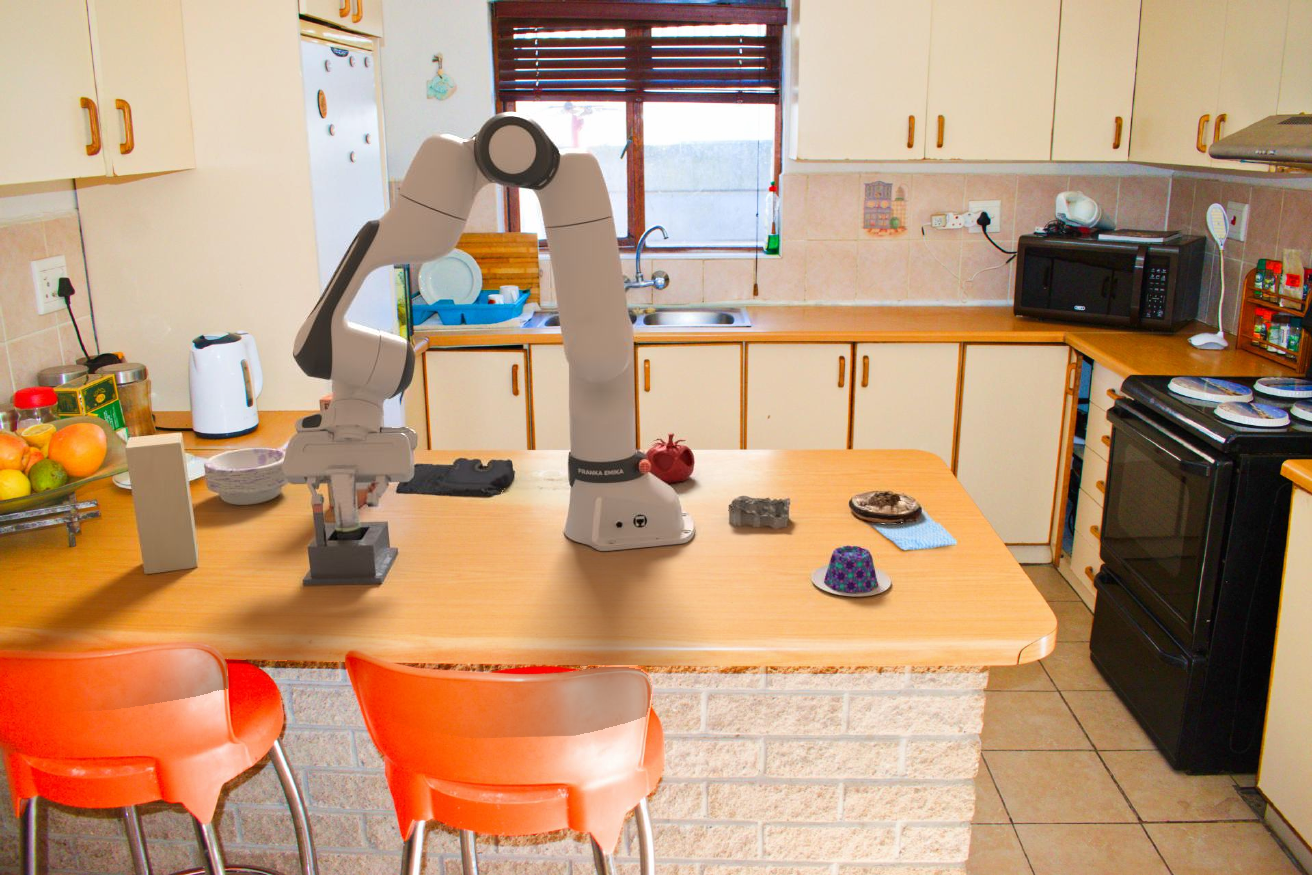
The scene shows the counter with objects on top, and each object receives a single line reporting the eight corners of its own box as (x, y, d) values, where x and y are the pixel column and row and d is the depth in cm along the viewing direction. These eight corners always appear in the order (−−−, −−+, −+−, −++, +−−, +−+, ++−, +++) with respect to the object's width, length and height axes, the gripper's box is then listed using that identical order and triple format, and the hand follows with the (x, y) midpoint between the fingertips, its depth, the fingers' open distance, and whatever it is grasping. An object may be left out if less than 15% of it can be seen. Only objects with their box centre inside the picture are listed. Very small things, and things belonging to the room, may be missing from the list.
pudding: (794, 582, 160) (795, 551, 159) (844, 561, 168) (845, 530, 166) (857, 608, 151) (858, 575, 150) (907, 584, 159) (908, 552, 158)
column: (368, 556, 168) (359, 462, 164) (362, 565, 164) (352, 470, 160) (341, 556, 168) (330, 463, 164) (334, 566, 164) (323, 471, 160)
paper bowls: (305, 483, 207) (300, 445, 204) (276, 511, 192) (271, 470, 190) (228, 484, 207) (223, 445, 205) (194, 511, 193) (188, 470, 190)
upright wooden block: (200, 550, 175) (182, 430, 169) (199, 567, 168) (180, 442, 162) (148, 558, 172) (127, 436, 166) (144, 575, 165) (123, 448, 159)
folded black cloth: (417, 471, 215) (415, 449, 214) (521, 474, 212) (520, 451, 211) (389, 496, 200) (387, 472, 199) (501, 500, 198) (499, 476, 196)
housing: (398, 553, 173) (391, 481, 169) (381, 583, 161) (374, 507, 157) (325, 554, 172) (317, 483, 169) (303, 585, 161) (294, 509, 157)
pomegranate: (638, 474, 210) (636, 430, 207) (685, 468, 213) (684, 424, 210) (653, 489, 201) (651, 442, 198) (702, 482, 204) (701, 437, 201)
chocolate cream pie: (862, 533, 179) (863, 510, 178) (830, 504, 193) (831, 482, 192) (942, 525, 182) (943, 503, 181) (905, 497, 196) (906, 476, 195)
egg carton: (725, 526, 183) (725, 504, 181) (733, 511, 189) (733, 490, 188) (786, 531, 180) (786, 509, 179) (792, 516, 187) (792, 494, 186)
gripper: (422, 436, 172) (415, 512, 166) (297, 438, 172) (285, 515, 166) (414, 417, 167) (407, 496, 160) (285, 419, 166) (273, 498, 160)
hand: (344, 506), depth 163 cm, fingers open, 7 cm apart
